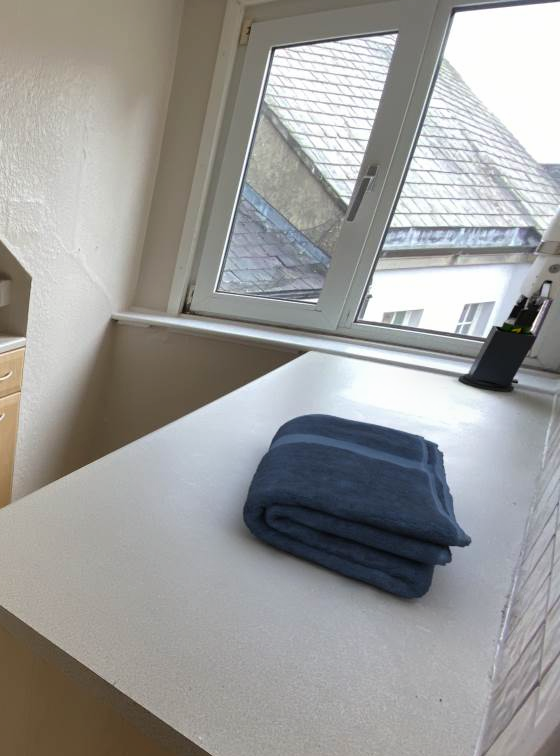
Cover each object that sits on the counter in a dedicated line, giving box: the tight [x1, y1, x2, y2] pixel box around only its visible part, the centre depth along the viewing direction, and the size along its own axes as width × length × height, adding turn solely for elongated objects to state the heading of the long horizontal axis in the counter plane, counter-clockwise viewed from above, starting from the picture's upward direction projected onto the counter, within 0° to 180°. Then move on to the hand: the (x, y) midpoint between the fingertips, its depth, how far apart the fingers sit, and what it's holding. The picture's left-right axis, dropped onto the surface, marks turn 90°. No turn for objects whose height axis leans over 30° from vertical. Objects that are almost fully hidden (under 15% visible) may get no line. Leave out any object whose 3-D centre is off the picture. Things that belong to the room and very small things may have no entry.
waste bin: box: [463, 325, 538, 388], centre depth 144 cm, size 10×10×14 cm
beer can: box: [500, 317, 534, 335], centre depth 143 cm, size 5×5×12 cm
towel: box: [242, 413, 473, 600], centre depth 85 cm, size 24×43×10 cm, turn 142°
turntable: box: [457, 375, 515, 393], centre depth 148 cm, size 11×11×1 cm
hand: (518, 323), depth 140 cm, fingers open, 6 cm apart
